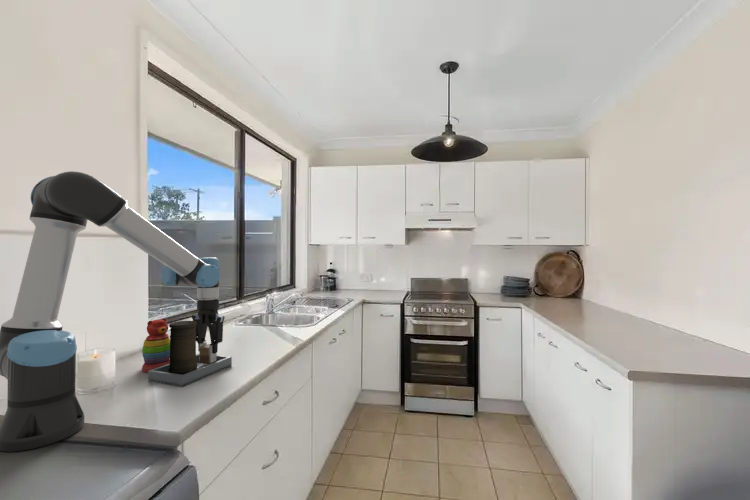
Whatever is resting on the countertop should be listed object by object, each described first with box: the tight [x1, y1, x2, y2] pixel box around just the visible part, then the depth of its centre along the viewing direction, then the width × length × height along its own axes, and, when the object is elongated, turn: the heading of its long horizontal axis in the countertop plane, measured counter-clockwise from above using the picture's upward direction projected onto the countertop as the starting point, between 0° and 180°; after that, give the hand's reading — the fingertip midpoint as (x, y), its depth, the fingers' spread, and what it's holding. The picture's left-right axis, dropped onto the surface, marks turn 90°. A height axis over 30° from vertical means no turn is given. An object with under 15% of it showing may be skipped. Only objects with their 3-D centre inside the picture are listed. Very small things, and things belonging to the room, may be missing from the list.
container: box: [168, 320, 198, 375], centre depth 121 cm, size 9×9×18 cm
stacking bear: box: [141, 318, 170, 374], centre depth 131 cm, size 11×10×18 cm
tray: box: [147, 353, 233, 388], centre depth 124 cm, size 22×15×4 cm
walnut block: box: [200, 343, 218, 364], centre depth 131 cm, size 4×4×6 cm
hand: (207, 360), depth 131 cm, fingers closed on walnut block, 4 cm apart
